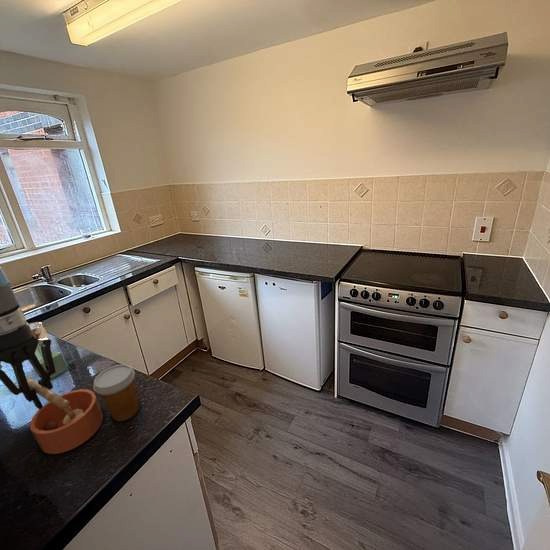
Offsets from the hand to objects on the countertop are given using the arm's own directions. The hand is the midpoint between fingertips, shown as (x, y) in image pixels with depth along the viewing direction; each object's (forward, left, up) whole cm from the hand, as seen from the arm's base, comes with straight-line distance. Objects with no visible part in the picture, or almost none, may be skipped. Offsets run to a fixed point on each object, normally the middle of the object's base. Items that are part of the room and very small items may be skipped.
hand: (45, 403), depth 80 cm
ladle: (+3, -1, -2) cm, 4 cm away
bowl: (+9, -7, -4) cm, 12 cm away
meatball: (+5, -8, -1) cm, 9 cm away
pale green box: (-8, +19, -4) cm, 21 cm away
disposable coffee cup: (+21, -4, -4) cm, 22 cm away
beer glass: (-15, +25, -4) cm, 29 cm away
